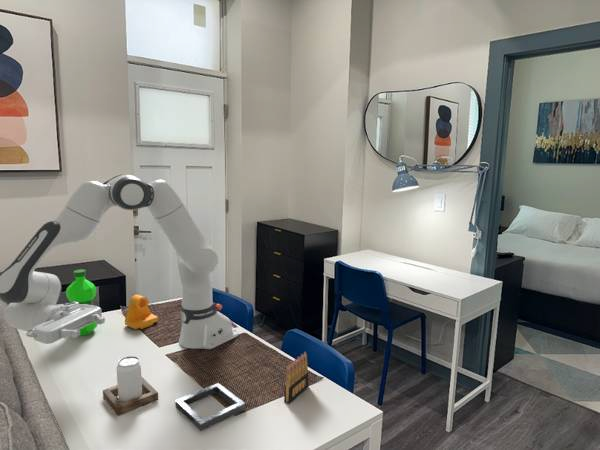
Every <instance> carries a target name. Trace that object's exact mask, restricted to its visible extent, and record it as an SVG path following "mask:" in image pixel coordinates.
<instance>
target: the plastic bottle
mask: <svg viewBox="0 0 600 450" xmlns="http://www.w3.org/2000/svg"><path fill="white" fill-rule="evenodd" d="M86 276H87V270H86V269H83V268H82V269H81V268H80V269H76V270H74V271H73V277H74V278H75V280H74V281H72V282H71V284H69V285H68V286H67V287H66V290H65V295H66V297H67V301H69V302H79V304H88V305H93V306H95V302H94V298H96V295H97V291H98V290H97V287H96V286H95V284H94V283H93V282H92V281H89V280H88V279H86ZM97 326H98V324H97V322H93V323H91V324H89V325H88V326H86V327H84V328H82V329H80V335H79V336H87V335H90V334H92V332H93V331H94V330H95V329H96V328H97Z"/></svg>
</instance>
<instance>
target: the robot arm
mask: <svg viewBox="0 0 600 450" xmlns="http://www.w3.org/2000/svg"><path fill="white" fill-rule="evenodd" d="M115 206H116V207H118V208H120V209H123V210H126V211H135V210H140V209H143V208H146V209H148V211H149V212H150V214H151V216H152V217H153V219H154V220H155V221H156V224H157V225H158V227H159V228H160V229H161V231H162V233H163V235H164V236H165V238H166V239H167V240H168V241H169V243H170V244H171V246H172V247H173V248H174V250H175V253H176V260H177V261H176V262H177V267H178V273H179V279H180V289H181V306H180V307H181V308H180V317H181V329H180V335H179V339H178V343H179V346H181V347H184V348H187V349H205V350H211V349H214V348H216V347H218V346H220V345H222V344H224V343H226V342H229V341H231V340H232V339H234V338H237V337H238V336H239V331H238V330H237V329H236V328H235V327H234V326H233V324H232V320H231V319H230V318H229V317H227V316H226V315H224V314H223V313H221V312H220V311H221V310H222V309H223V305H222V304H220V303H215V302H213V281H212V279H211V276H210V275H211V273H212V272H214V271H215V270H216V268H217V267H218V264H219V257H218V255H217V252H216V250H215V249H214V248H213V246H212V244H211V243H210V242H209V240H208V238H207V237H206V236H205V234H204V233H203V232H202V230H201V229H200V227H199V226H198V225H197V224H196V222H195V220H194V219H193V217H192V216H191V215H192V214H190V212H189V210H188V209H187V208H186V206H185V204H184V202H183V200H182V198H180V196H179V194H178V193H177V192H176V191H175V189H174V188H173V187H172V186H171V185H170V184H169V182H167V181H166V180H164V179H156V180H152V181H150V182H149V183H147V182H146V181H144V180H142V179H141V178H138V177H136V176H135V175H131V174H119V175H116V176H114V177H112V178H110V179H108V180H106V181H105V182H103V183H101V182H100V181H96V180H86V181H84V182H82V183H81V184H80V186H78V187H77V188H76V190H75V191H74V193H73V194H72V195H71V196H70V198H69V199H68V201H67V202H66V204H65V206H64V208H63V209H62V210H61V211H60V213H58V214H57V216H56V217H55V218H53V219H52V220H50V221H47V222H46V223H44V224H43V225H42V226H41V227H40V228H39V229H38V230H37V232H36V233H35V234H34V235H33V236H32V237H31V239H30V240H29V241H28V242H27V244H26V245H25V246H24V247H23V249H22V250H21V251H20V252H19V254H18V255H17V257H16V258H14V260H13V261H12V262H11V264H10V265H8V266H7V267H6V268H5V269H4V270H3V271H1V272H0V301H2V302H3V303H6V304H8V305H7V306H6V307H5V309H4V311H3V316H4V319H5V321H6V323H7V324H8V325H9V326H10V327H12V328H14V329H17V330H20V331H24V332H26V333H25V336H26V337H28V338H33V340H34V341H36V342H39V343H42V344H45V345H46V344H47V345H48V344H49V345H51V344H53V343H55V342H57V341H60V340H62V339H65V338H77V337H79V336H81V335H80V329H82V328H84V327H86V326H88V325H89V324H91V323H93V322H97V325H102V324H104V323H105V322H106V321H105V317H103V314H102V308H101V307H100V306H97V305H94V306H93V305H88V304H79V302H71V301H69V302H66V303H61V304H59V303H58V302H59V299H60V296H61V293H62V282H61V279H60V278H59V277H58V276H57V275H56V274H53V273H49V272H44V271H43V272H42V271H35V270H36V269H37V268H38V266H39V265H40V264H41V262H42V261H43V259H44V258H45V257H46V256H47V254H48V253H49V252H50V251H51V250H53V249H54V248H55V247H58V246H61V245H64V244H68V243H78V242H81V241H85V240H86V239H89V238H90V237H91V236H92V235H93V234H94V233H95V232H96V230H97V229H98V227H99V224H100V223H101V221H102V219H103V217H104V216H105V214H106V213H107V211H109V209H111V208H113V207H115ZM57 303H58V304H57Z"/></svg>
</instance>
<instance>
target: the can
mask: <svg viewBox="0 0 600 450" xmlns="http://www.w3.org/2000/svg"><path fill="white" fill-rule="evenodd" d="M141 376H142V365H141V362H140V359H139V357H137V356H134V355H133V356H125V357H122V358H120V359H119V360H118V362H117V366H116V380H117V381H116V383H117V384H116V385H118V396H117V397H118V398H117V399H118V401H119V402H120V403H124V402H126V401H129V400H132V399H134V398H137V397H139V396H142V395H143V391H142V378H141Z"/></svg>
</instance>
